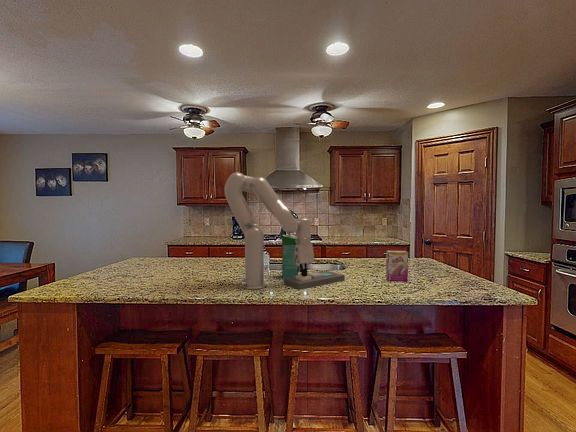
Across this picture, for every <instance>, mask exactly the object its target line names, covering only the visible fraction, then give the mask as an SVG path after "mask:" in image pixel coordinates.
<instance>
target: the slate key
mask: <svg viewBox="0 0 576 432" xmlns="http://www.w3.org/2000/svg"><path fill="white" fill-rule="evenodd" d="M307 275H308V276H311V278H313V279H316V278H321V277H323V274H319V273H318V272H311V273H309V272H308V273H307Z"/></svg>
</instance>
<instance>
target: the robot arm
mask: <svg viewBox="0 0 576 432" xmlns="http://www.w3.org/2000/svg"><path fill="white" fill-rule="evenodd" d="M243 192H246V193H252V194H256V197H258V198H259V201H260V202H261V203H262V204H263V205H264V206H265V208H266V209H267V210H268V212H269V213H270V214H272V215H273V216H274V217H275V219H276V220H277V222H278V223H279V224H280V225H281V229H282V230H283V231H284V232H285V233H288V234H294V233H295V234H296V236H297V240H295V242H296V243H297V244H296V247H295V262H296V264H295V265H296V266H298V268H299V269H300V275H302V276H307V274H308V269H309V266H310V265H312V264H313V262H314V261H315V253H314V246H313V243H312V235H311V234H312V232H311V229H312V228H311V227H312V226H311V219H310V218H309V217H300V218H295V216H294V215H293V214H292V212H290V210H289V209H288V208H287V206H286V205H285V204H284V202H283V201H282V199H281V197H279V195H278V194H277V193H276V191H275V190H274V188H272V186H271V184H270V183H269V182H268V180H267V179H266V178H264V177H262V176H257V177H255V176H249V175H245V174H244V173H241V172H238V171H236V172H233V173H232V174H230V175H229V177H227V179H226V182H225V184H224V196H225V198H226V201H227V203H228V205H229V208H230V210H231V212H232V213H233V216H234V218H235V221H236V222H237V224H238V225H239V228H240V229H241V232H242V233H243V235H244V266H245V267H244V272H245V273H244V277H243V278H242V279H241V280H238V281H236V285H237V286H239V285H240V286H241V287H242V288H244V289H247V290H260V289H265V288H267V284H268V283H266V282H264V281H265V280H264V278H265V277H264V275H265V274H264V273H265V272H264V269H265V268H264V248H265V247H264V242H265V235H264V230H263V229H262V228H261V226H260V224H259V223H258V220H257V218H256V217H255V214H254V212H253V211H252V209H251V208H250V206H249V204H248V202H247V200H246V198H245V197H244V194H243Z"/></svg>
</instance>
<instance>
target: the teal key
mask: <svg viewBox="0 0 576 432" xmlns="http://www.w3.org/2000/svg"><path fill="white" fill-rule="evenodd" d="M321 274H323V276H324V277H327V276H332V275H333V274H329V273H321Z"/></svg>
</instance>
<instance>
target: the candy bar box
mask: <svg viewBox="0 0 576 432" xmlns="http://www.w3.org/2000/svg"><path fill="white" fill-rule="evenodd" d="M385 257H386V260H385V262H386V265H385V280H386V281H387V282H389V281H390V282H408V279H409V276H408V275H409V252H408V251H407V250H386V256H385Z"/></svg>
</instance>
